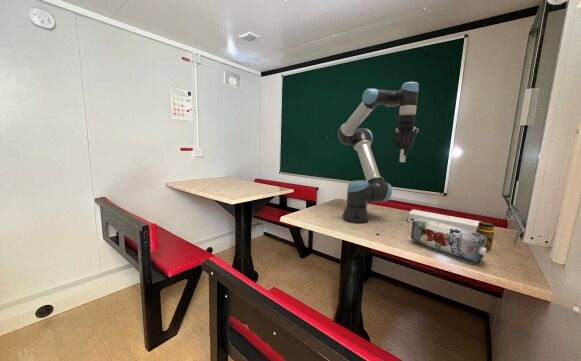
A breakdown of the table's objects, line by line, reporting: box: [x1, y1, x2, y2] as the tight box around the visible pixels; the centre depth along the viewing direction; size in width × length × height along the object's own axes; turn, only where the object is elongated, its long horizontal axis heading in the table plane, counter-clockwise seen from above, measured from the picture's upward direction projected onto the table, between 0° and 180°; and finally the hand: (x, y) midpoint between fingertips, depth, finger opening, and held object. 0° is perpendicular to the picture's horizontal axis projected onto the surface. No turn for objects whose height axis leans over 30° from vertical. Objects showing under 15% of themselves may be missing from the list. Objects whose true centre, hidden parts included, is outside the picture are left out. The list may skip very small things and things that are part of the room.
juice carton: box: [410, 219, 487, 263], centre depth 99 cm, size 9×10×27 cm
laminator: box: [407, 208, 482, 232], centre depth 131 cm, size 34×12×6 cm, turn 52°
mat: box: [414, 241, 477, 266], centre depth 101 cm, size 22×12×1 cm, turn 35°
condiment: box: [476, 221, 495, 254], centre depth 104 cm, size 7×8×12 cm
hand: (402, 161), depth 120 cm, fingers closed
